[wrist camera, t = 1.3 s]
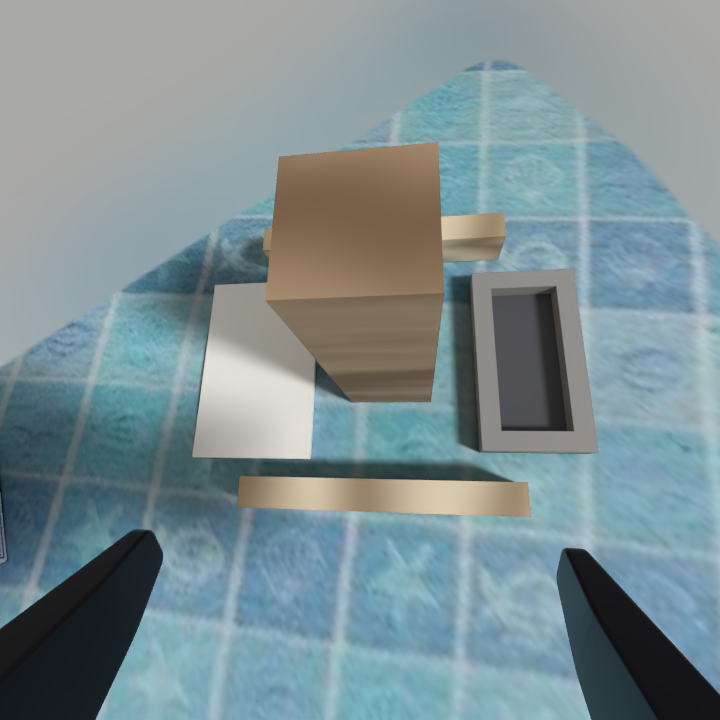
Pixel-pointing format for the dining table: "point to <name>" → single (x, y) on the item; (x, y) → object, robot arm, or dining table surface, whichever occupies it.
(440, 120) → the dining table surface
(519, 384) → the tray
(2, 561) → the medicine box
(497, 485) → the channel
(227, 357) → the pad
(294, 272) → the walnut block
